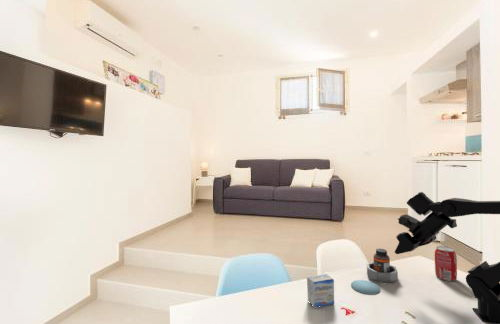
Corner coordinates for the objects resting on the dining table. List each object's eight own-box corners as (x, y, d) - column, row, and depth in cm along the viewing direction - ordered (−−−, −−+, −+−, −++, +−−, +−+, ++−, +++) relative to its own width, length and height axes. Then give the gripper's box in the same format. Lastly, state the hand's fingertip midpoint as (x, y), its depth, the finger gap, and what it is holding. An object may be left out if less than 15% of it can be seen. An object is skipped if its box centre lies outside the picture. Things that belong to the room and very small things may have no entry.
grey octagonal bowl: (399, 285, 96) (399, 275, 96) (368, 281, 100) (368, 271, 100) (394, 273, 106) (394, 264, 106) (366, 270, 110) (366, 261, 110)
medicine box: (313, 308, 82) (313, 282, 82) (307, 301, 87) (306, 276, 87) (334, 304, 84) (334, 279, 84) (327, 297, 89) (326, 273, 89)
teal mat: (381, 296, 89) (381, 295, 89) (351, 291, 92) (351, 290, 92) (378, 283, 98) (378, 282, 98) (350, 279, 102) (350, 278, 102)
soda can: (449, 274, 104) (448, 245, 104) (461, 282, 97) (461, 251, 97) (431, 274, 105) (430, 245, 105) (442, 282, 98) (441, 251, 98)
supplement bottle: (370, 275, 104) (369, 248, 104) (380, 273, 107) (379, 246, 107) (383, 282, 99) (382, 253, 99) (393, 278, 102) (392, 251, 102)
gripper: (423, 205, 99) (397, 229, 107) (399, 211, 89) (372, 237, 97) (450, 228, 92) (420, 252, 100) (426, 237, 81) (395, 263, 90)
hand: (401, 250), depth 97 cm, fingers open, 9 cm apart
